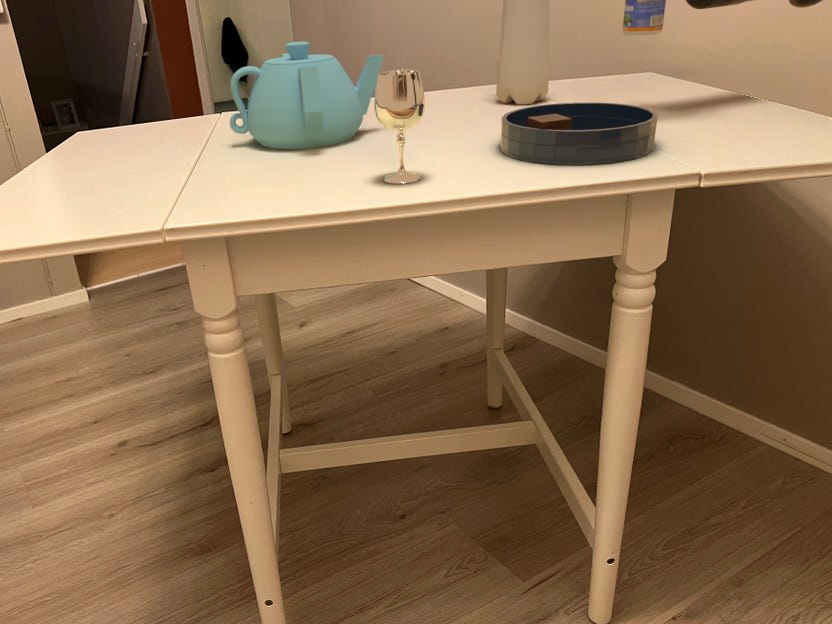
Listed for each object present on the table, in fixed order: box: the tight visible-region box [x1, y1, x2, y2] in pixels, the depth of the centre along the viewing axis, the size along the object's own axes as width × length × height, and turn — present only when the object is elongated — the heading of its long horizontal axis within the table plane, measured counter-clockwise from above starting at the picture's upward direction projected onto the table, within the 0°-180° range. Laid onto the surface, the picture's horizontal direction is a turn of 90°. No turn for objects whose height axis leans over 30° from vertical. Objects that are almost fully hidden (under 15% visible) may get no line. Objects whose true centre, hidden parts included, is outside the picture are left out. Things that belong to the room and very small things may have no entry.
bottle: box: [495, 0, 551, 105], centre depth 119 cm, size 9×9×30 cm
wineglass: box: [374, 68, 426, 185], centre depth 82 cm, size 6×6×12 cm
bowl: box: [500, 101, 659, 166], centre depth 92 cm, size 19×19×4 cm
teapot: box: [229, 41, 384, 150], centre depth 107 cm, size 19×19×14 cm
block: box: [527, 114, 572, 130], centre depth 90 cm, size 4×4×4 cm
